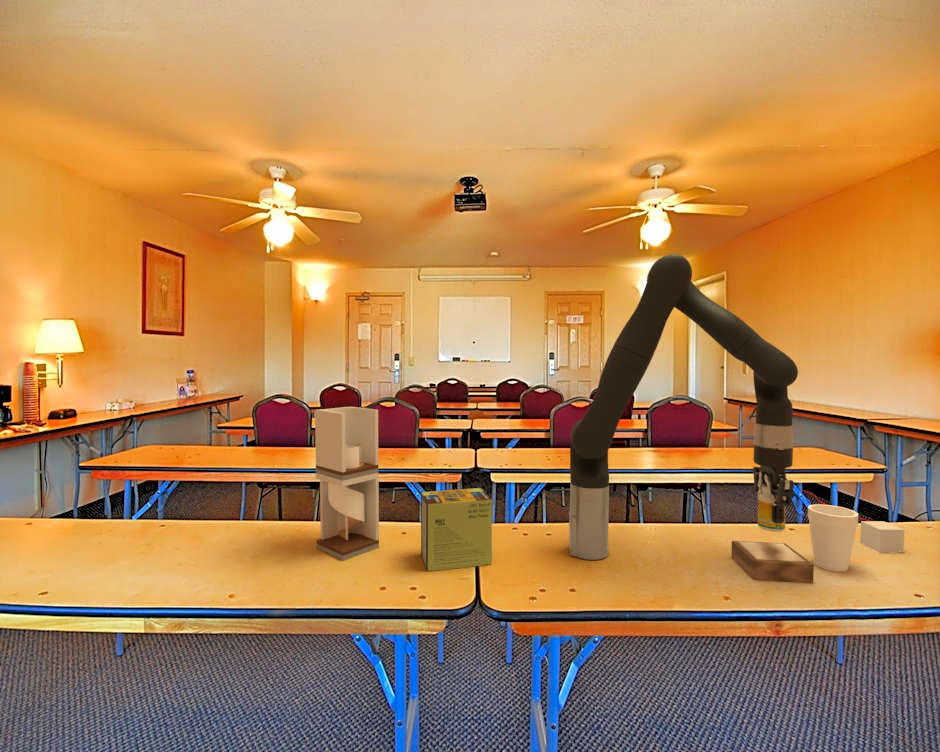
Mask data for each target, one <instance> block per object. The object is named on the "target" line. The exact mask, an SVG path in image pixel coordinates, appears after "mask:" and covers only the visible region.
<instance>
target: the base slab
mask: <svg viewBox="0 0 940 752" xmlns="http://www.w3.org/2000/svg"><path fill="white" fill-rule="evenodd" d="M730 557H731V558H732V559H733V560H734V562H735V563H736V564H738V565H739V566H740V567H741V568H742V570H743V571H744V572H745V573H746V574H747V575H748V576H749V577H750V578H751V579H752V580H754V581H755V580H756V581H769V582H770V581H771V582H772V581H773V582H787V583H803V584H814V576H815V575H814V573H815V572H814V571H815V569H814V567H815V564H814V563H812V562H811V561H809V560H808V559H807V558H805V557H804V556H803V555H801V554H800V553H799V552H798V551H796V550H795V549H794V548H792V547H791V546H789V545H788V544H787V543H785V542H763V541H762V542H761V541H744V540H743V541H741V540H732V541H731V556H730Z"/></svg>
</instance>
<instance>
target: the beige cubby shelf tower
mask: <svg viewBox="0 0 940 752" xmlns="http://www.w3.org/2000/svg"><path fill="white" fill-rule="evenodd" d="M314 423H315V425H314V427H315V431H314V432H315V433H314V434H315V439H314V440H315V444H314V445H315V479H316V480H319V494H320V497H319V502H320V503H319V504H320V505H319V506H320V508H319V509H320V514H319V515H320V516H319V517H320V538H319V539H317V540H316V549H318V550H320V551H322V552H324V553H326V554H328V555H330V556H332V557H335V558H336V559H339V560H341V561H343V562H344V561H347V560H349V559H352V558H354V557H357V556H360V555H363V554H365V553H368V552H371V551H373V550H376V549H380V527H379V526H380V515H379V514H380V508H379V506H380V505H379V503H380V502H379V500H380V499H379V498H380V497H379V495H380V494H379V490H380V489H379V486H380V485H379V483H380V482H379V477H380V476H379V473H380V472H379V409H373V408H367V407H357V406H343V407H342V406H341V407H334V408H333V407H331V408H324V409H323V408H320V409H315V410H314Z"/></svg>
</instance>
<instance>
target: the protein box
mask: <svg viewBox="0 0 940 752" xmlns="http://www.w3.org/2000/svg"><path fill="white" fill-rule="evenodd" d="M492 515H493V499H492V498H491V497H490V496H489V495H488V494H487V493H486V492H485V491H484V490H483V489H482V488H481V487H475V488H461V489H445V490H436V491H433V490H432V491H423V492H421V493H420V523H421V524H420V535H421V537H420V538H421V539H420V547H421V548H420V553H421V557H422V560H423V563H424V565H425V568H426V571H427V572H433V571H441V570H442V571H444V570H453V569H461V568H462V569H463V568H471V567H472V568H473V567H479V566H480V567H481V566H482V565H483V566H486V565H485V564H491V563H492V564H493V561H492V559H493V557H492V555H493V547H492V546H493V543H492V542H493V536H492V534H493V529H492V528H493V527H492V526H493V525H492V522H493V516H492ZM492 564H491V565H492Z"/></svg>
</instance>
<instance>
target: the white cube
mask: <svg viewBox="0 0 940 752" xmlns="http://www.w3.org/2000/svg"><path fill="white" fill-rule="evenodd" d="M860 543H862V544H864V545H866V546H868V547H870V548H872V549H874V550H876V551H878V552H899V551H900V552H903V553H904V550H905V549H904V547H905V544H904V543H905V529H904V528H902V527H899V526H896V525H895V524H892V523H889V522H886V521H884V520H883V521H881V520H880V521H879V520H878V521H877V520H874V521H873V520H872V521H870V520H866V521H863V520H862V521H860V537H859V544H860ZM862 544H861V545H862ZM864 545H863V546H864ZM866 546H865V547H866ZM868 547H867V548H868ZM870 548H869V549H870ZM872 549H871V550H872ZM874 550H873V551H874ZM876 551H875V552H876ZM878 552H877V553H878Z"/></svg>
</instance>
